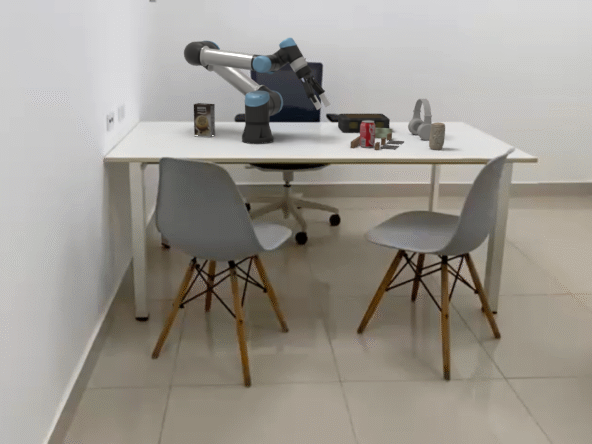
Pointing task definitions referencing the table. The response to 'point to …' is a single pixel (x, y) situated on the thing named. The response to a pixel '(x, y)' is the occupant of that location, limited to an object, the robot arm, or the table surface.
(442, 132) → the carved cylinder
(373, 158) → the table surface
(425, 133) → the headphones
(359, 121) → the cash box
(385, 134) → the brown and grey pieces
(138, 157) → the table surface
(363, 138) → the soda can
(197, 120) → the coffee box
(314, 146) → the table surface
